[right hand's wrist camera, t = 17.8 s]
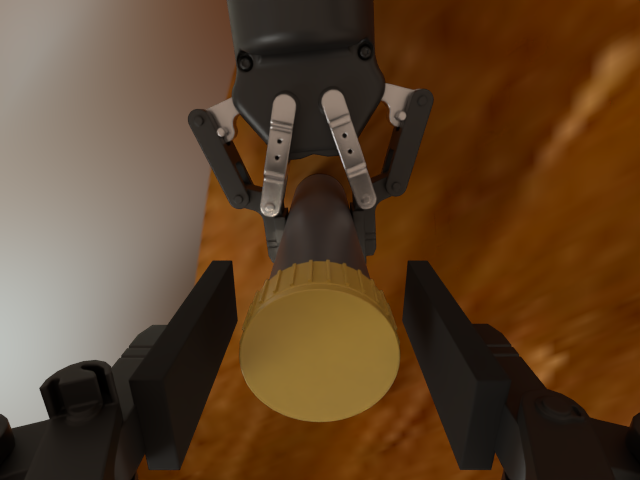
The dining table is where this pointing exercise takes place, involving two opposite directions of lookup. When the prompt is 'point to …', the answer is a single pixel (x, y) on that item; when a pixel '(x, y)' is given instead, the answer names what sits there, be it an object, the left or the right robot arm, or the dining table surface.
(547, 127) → the dining table surface
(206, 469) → the dining table surface
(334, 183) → the dark grey cylinder
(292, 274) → the lid
